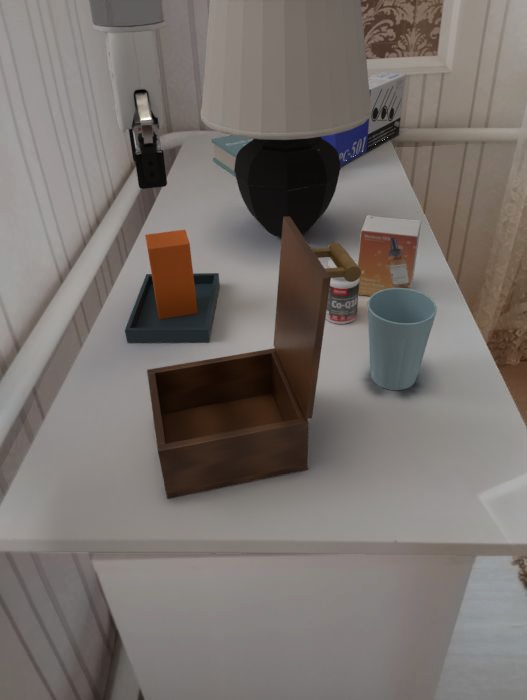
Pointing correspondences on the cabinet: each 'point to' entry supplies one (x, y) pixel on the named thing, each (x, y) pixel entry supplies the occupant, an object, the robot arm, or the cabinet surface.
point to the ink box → (373, 118)
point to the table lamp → (286, 98)
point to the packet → (172, 273)
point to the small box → (387, 253)
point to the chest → (226, 422)
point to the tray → (175, 329)
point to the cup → (398, 335)
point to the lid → (305, 308)
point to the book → (228, 151)
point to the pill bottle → (342, 299)
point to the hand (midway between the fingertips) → (149, 172)
